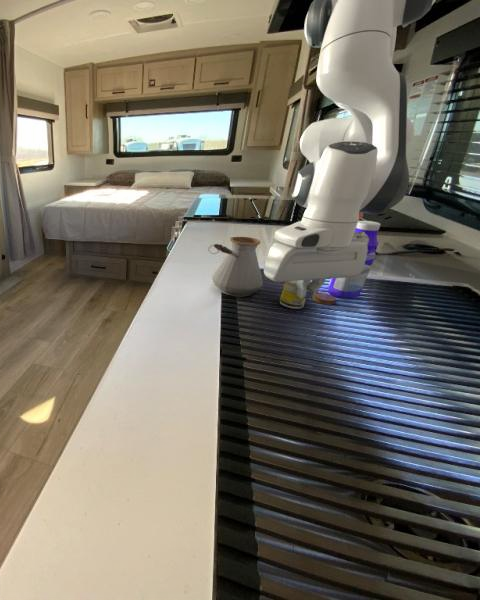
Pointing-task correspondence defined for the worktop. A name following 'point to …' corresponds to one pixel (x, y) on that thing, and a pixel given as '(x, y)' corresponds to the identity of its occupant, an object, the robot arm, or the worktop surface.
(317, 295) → the wooden spoon
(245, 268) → the coffee pot
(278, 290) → the worktop surface
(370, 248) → the bottle
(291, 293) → the supplement bottle
